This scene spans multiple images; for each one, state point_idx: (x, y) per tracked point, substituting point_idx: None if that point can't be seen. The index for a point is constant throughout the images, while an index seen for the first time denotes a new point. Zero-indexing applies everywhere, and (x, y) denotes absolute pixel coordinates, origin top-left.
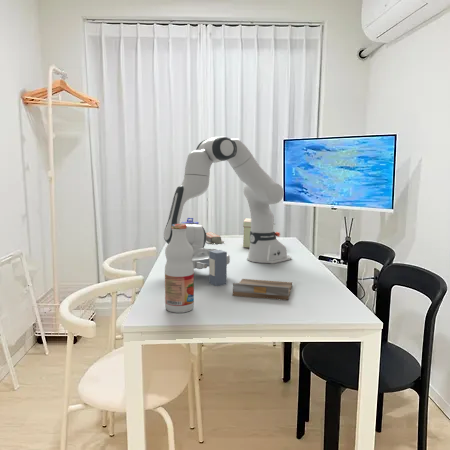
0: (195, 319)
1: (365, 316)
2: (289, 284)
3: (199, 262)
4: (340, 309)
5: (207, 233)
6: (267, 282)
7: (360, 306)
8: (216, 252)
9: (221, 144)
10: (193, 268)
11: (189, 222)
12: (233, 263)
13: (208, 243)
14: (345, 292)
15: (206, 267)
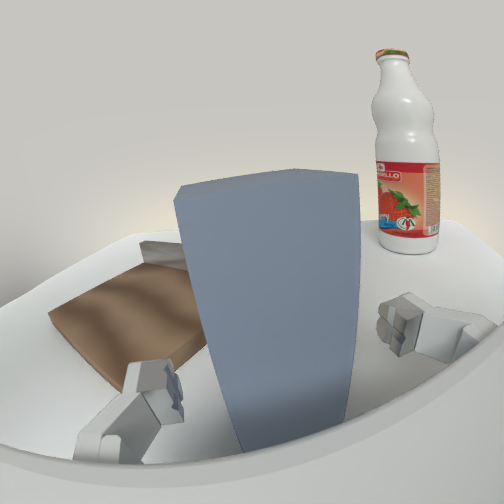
0: (366, 226)
1: (123, 240)
2: (69, 303)
3: (460, 317)
4: (123, 249)
5: None
6: (91, 325)
7: (92, 254)
8: (281, 171)
9: None
10: (375, 148)
11: None
12: None
13: None
14: (40, 285)
15: (379, 326)
